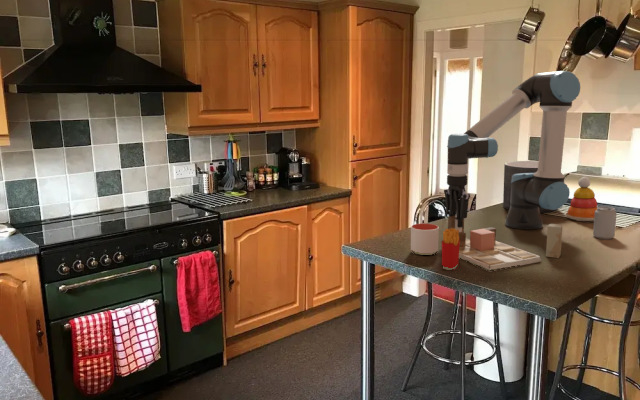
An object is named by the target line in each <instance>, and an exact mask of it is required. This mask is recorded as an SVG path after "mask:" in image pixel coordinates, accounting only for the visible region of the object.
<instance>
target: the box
mask: <svg viewBox="0 0 640 400" xmlns="http://www.w3.org/2000/svg"><path fill="white" fill-rule="evenodd" d="M562 238H563V224H557V223H549V224H548V225H547V233H546V250H545V257H548V258H554V259H556V258H557V259H559V258H560V256H561V252H562V241H563V240H562Z"/></svg>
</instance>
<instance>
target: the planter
mask: <svg viewBox="0 0 640 400" xmlns="http://www.w3.org/2000/svg"><path fill="white" fill-rule="evenodd" d="M538 162H539V160H538V161H537V160H516V161H515V160H514V161H509V162H508V161H507V162H505V163H504V170H503V171H504V172H503V192H502V193H503V198H502V199H503V201H502V206H503V208H504V209H506V210H508V211H509V209H510V200H511V180H512V176H513V175H514V174H520V173H536V172H537V171H538ZM557 210H558V209H556V210H550V209H544V208H542V207H539V211H540V214H545V213H546V214H547V213H551V212H555V211H557Z"/></svg>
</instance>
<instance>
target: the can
mask: <svg viewBox="0 0 640 400" xmlns="http://www.w3.org/2000/svg"><path fill="white" fill-rule="evenodd" d="M617 214H618V212H616V208H614V207H611V206H597V210H596V211H595V216H594V221H593V229H592V236H594V237H595V238H596V239H599V240H612V239H613V238H614V237H615V236H616V225H617V223H616V222H617Z"/></svg>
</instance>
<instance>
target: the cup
mask: <svg viewBox="0 0 640 400" xmlns="http://www.w3.org/2000/svg"><path fill="white" fill-rule="evenodd" d="M439 231H440V227H439V225H436V224H433V223H415V224H412V225H411V226H410V251H411V250H413V251H415V252H419V253H433V252H436V251H438V252H439V245H440V244H439V241H440V240H439V237H440V233H439Z"/></svg>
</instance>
